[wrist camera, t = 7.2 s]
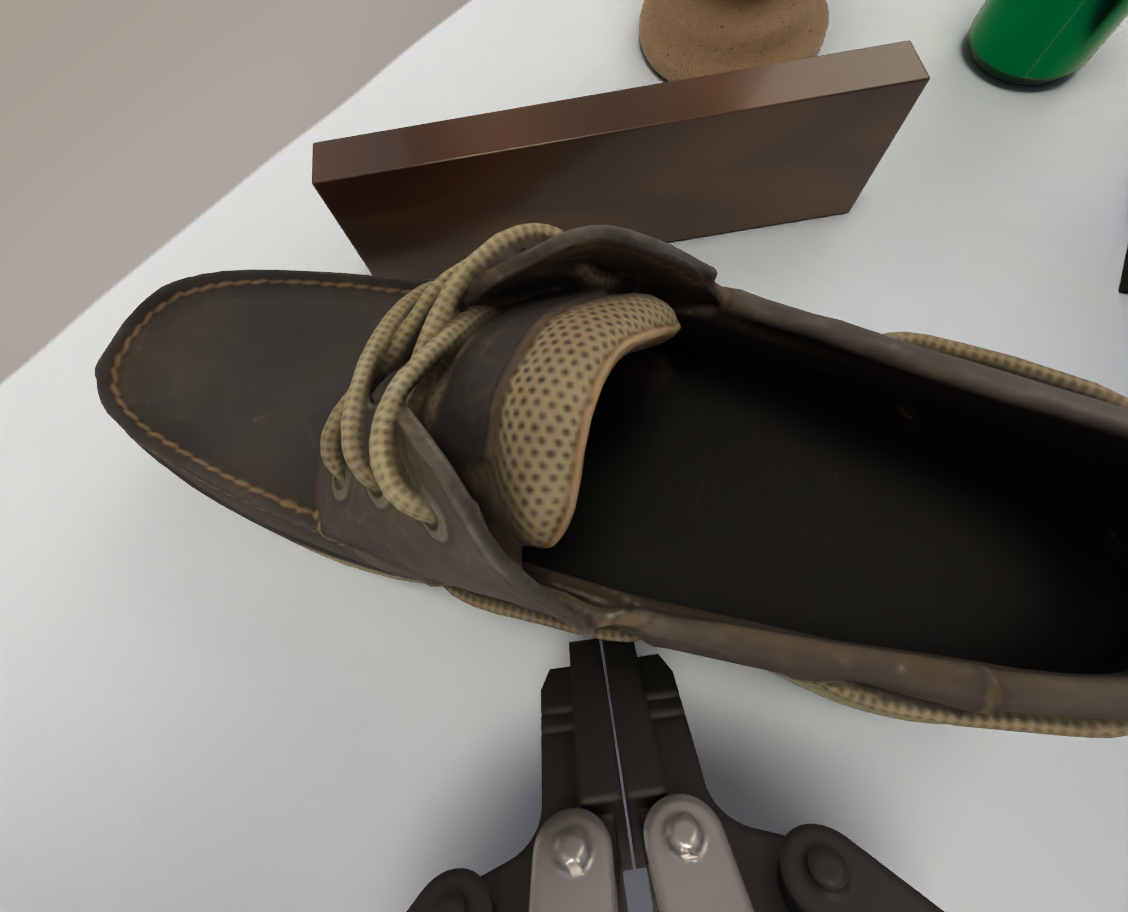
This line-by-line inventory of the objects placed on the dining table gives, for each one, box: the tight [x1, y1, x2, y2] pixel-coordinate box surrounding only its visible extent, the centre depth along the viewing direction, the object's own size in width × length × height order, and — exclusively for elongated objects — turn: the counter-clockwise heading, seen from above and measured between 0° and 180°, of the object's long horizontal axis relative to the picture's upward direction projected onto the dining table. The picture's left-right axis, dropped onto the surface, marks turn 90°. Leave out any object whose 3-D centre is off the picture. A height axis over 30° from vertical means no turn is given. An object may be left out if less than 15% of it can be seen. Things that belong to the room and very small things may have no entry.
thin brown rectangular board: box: [312, 41, 930, 280], centre depth 19 cm, size 20×2×6 cm, turn 98°
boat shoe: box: [95, 223, 1128, 738], centre depth 13 cm, size 11×29×11 cm, turn 76°
